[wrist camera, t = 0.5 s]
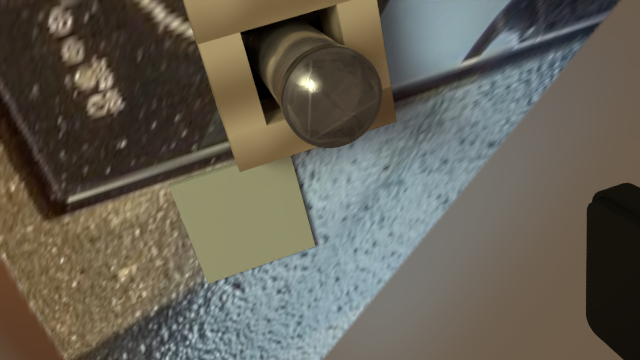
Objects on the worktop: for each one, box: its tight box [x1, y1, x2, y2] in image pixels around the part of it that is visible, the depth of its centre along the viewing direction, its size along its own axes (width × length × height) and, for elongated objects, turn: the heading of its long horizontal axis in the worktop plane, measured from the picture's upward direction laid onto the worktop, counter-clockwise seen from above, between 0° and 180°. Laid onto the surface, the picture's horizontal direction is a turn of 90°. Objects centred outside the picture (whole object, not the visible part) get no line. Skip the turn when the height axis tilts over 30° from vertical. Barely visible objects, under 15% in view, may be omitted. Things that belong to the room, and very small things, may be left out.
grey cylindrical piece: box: [249, 16, 382, 148], centre depth 34 cm, size 5×5×12 cm
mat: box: [169, 156, 315, 284], centre depth 43 cm, size 9×9×1 cm
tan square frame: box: [183, 0, 397, 172], centre depth 37 cm, size 11×11×5 cm
